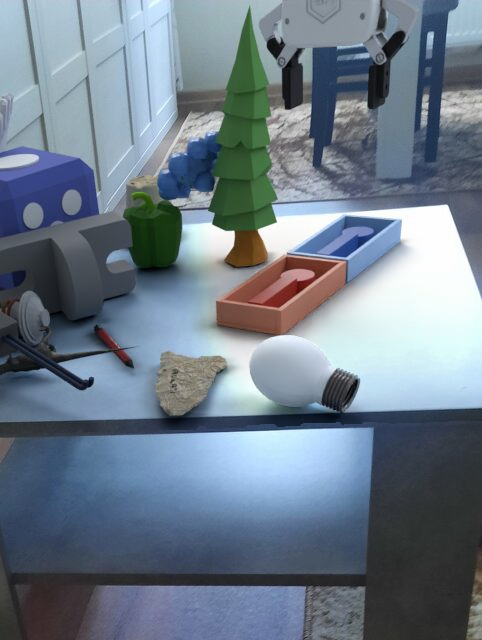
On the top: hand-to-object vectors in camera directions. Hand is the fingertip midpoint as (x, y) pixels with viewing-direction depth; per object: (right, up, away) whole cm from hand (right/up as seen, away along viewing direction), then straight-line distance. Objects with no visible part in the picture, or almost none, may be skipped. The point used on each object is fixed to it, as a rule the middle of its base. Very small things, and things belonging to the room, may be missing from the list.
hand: (333, 106), depth 94 cm
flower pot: (-20, +10, +36) cm, 42 cm away
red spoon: (-3, -16, +15) cm, 22 cm away
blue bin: (+7, -6, +26) cm, 28 cm away
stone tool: (-15, -25, +5) cm, 30 cm away
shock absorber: (-47, -18, +16) cm, 53 cm away
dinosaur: (-31, -22, +10) cm, 39 cm away
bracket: (-32, -9, +20) cm, 39 cm away
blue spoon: (+7, -6, +26) cm, 27 cm away
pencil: (-24, -24, +9) cm, 35 cm away
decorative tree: (-6, -5, +29) cm, 31 cm away
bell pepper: (-19, -5, +32) cm, 37 cm away
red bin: (-3, -16, +15) cm, 23 cm away
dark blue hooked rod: (-46, -16, +12) cm, 51 cm away
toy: (-41, +4, +44) cm, 60 cm away
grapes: (-11, +6, +31) cm, 33 cm away
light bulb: (0, -34, -10) cm, 35 cm away
